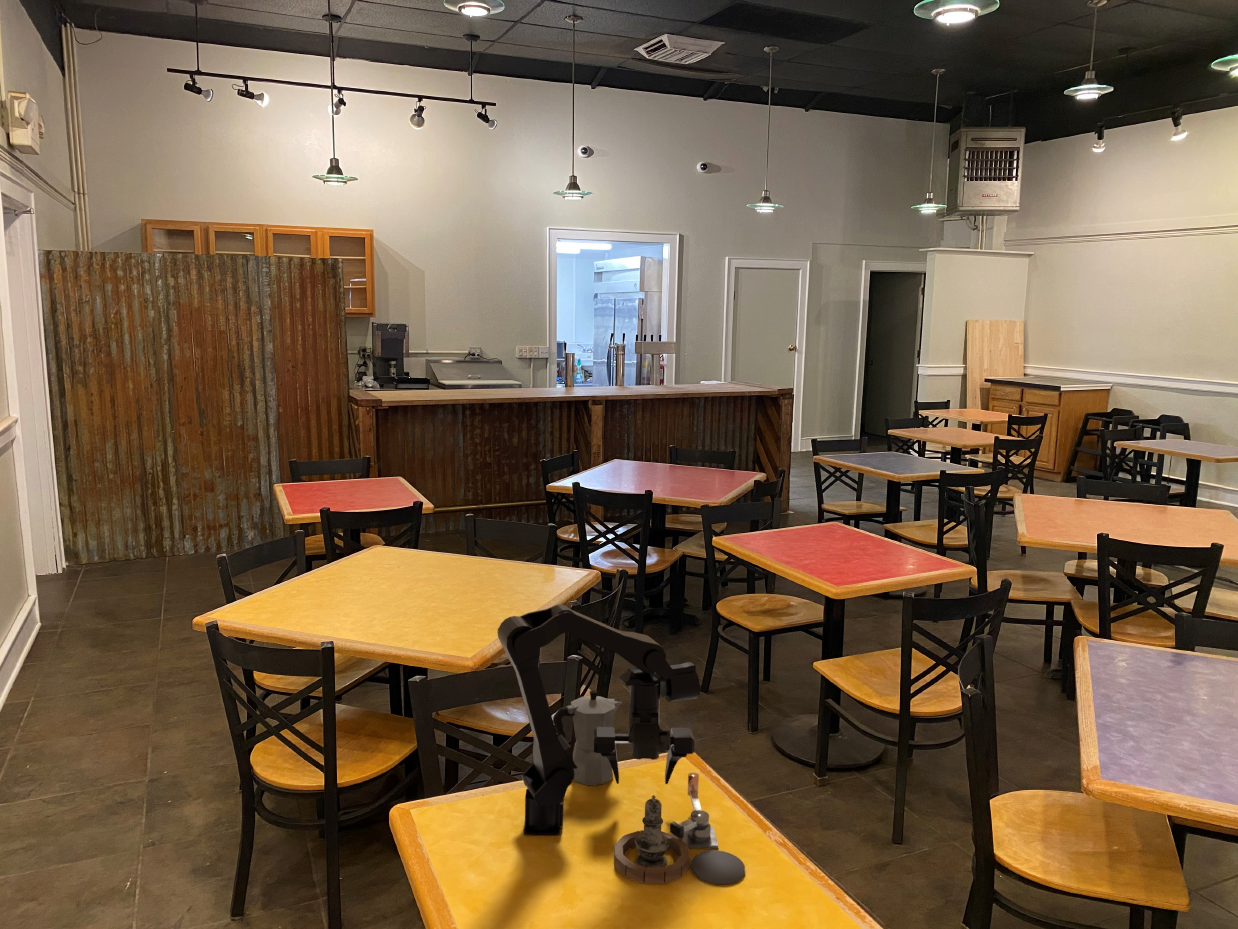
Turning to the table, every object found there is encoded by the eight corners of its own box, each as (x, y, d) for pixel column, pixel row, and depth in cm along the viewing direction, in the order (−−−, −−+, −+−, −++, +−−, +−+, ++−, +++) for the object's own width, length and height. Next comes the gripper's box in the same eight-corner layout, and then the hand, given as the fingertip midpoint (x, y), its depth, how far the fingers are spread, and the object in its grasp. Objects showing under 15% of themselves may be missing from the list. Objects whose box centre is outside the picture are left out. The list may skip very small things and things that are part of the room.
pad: (694, 885, 141) (694, 881, 140) (687, 853, 149) (687, 850, 149) (749, 885, 141) (749, 881, 141) (739, 853, 150) (739, 850, 150)
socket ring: (615, 883, 140) (615, 872, 140) (613, 840, 153) (613, 830, 152) (692, 884, 141) (693, 872, 140) (684, 841, 153) (684, 830, 153)
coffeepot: (608, 759, 184) (610, 677, 182) (630, 778, 176) (633, 693, 174) (542, 774, 176) (543, 689, 174) (562, 795, 168) (564, 706, 166)
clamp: (671, 838, 149) (671, 815, 148) (663, 793, 164) (663, 772, 164) (712, 839, 149) (713, 816, 149) (700, 793, 165) (701, 772, 164)
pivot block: (684, 848, 151) (684, 835, 151) (680, 830, 157) (680, 817, 157) (718, 848, 151) (718, 835, 151) (713, 830, 157) (713, 817, 157)
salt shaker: (669, 853, 149) (671, 787, 148) (668, 873, 144) (670, 805, 142) (635, 850, 150) (637, 785, 148) (632, 870, 144) (634, 802, 143)
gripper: (595, 721, 153) (592, 804, 155) (699, 722, 154) (696, 805, 156) (594, 697, 164) (592, 775, 166) (692, 698, 165) (689, 775, 167)
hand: (642, 783), depth 163 cm, fingers open, 9 cm apart
